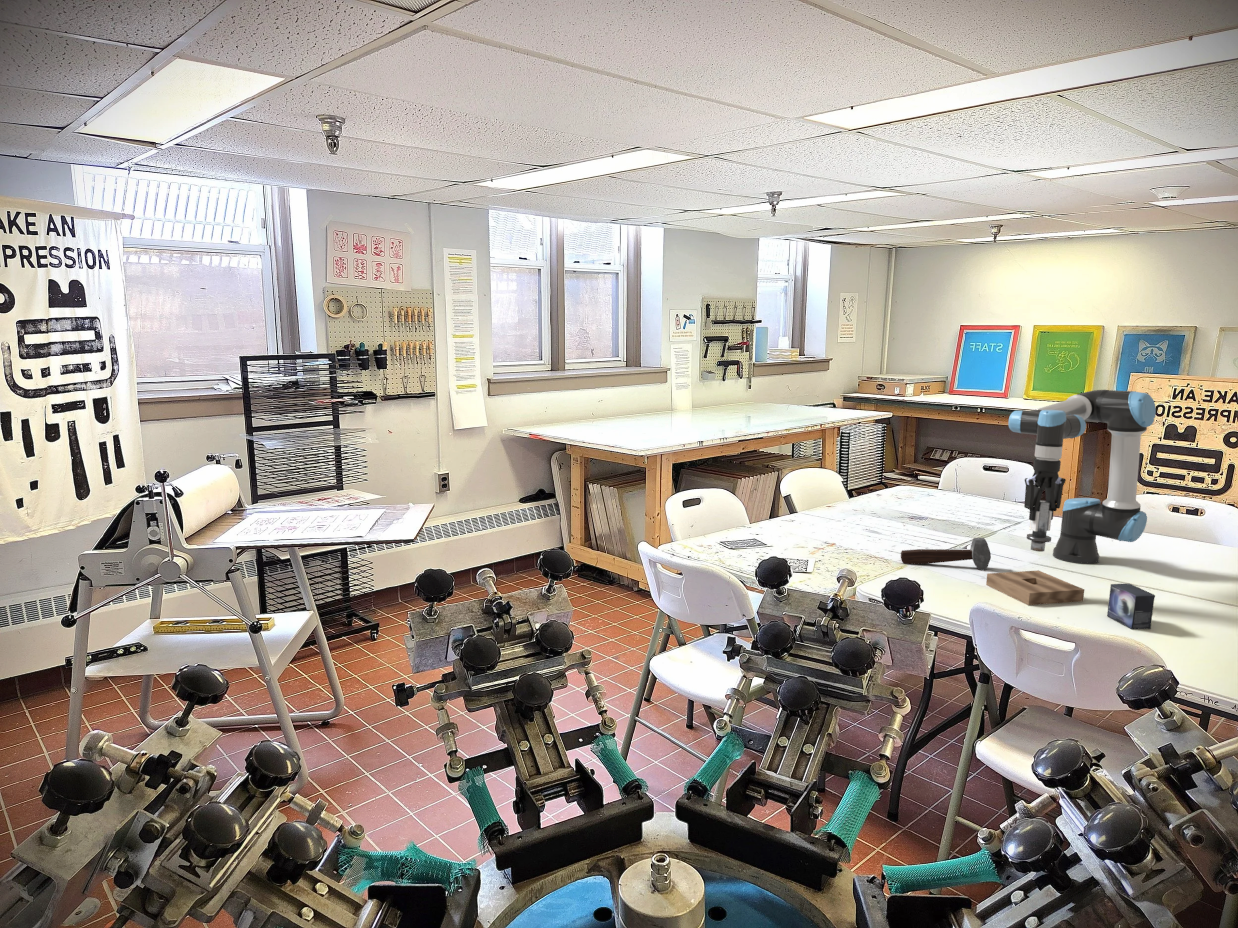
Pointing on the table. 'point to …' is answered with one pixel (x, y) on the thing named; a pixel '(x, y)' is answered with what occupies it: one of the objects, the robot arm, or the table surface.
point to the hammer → (950, 555)
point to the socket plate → (1035, 587)
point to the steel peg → (1040, 528)
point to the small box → (1130, 606)
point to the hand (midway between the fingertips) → (1039, 529)
